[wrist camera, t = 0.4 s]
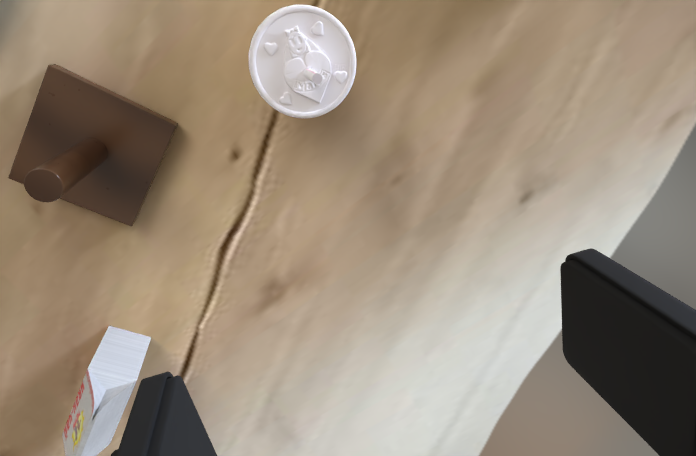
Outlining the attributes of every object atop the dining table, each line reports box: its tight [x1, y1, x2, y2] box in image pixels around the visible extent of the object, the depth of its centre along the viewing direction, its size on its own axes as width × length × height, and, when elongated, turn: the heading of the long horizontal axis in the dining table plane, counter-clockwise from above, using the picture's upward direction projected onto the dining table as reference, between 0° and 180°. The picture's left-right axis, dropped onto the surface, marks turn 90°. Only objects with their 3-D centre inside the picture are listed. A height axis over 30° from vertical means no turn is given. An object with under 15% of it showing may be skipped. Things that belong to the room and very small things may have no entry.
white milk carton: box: [62, 326, 151, 456], centre depth 38 cm, size 4×7×10 cm, turn 153°
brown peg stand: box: [9, 64, 178, 226], centre depth 31 cm, size 9×9×10 cm
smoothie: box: [248, 4, 356, 118], centre depth 30 cm, size 6×6×14 cm
